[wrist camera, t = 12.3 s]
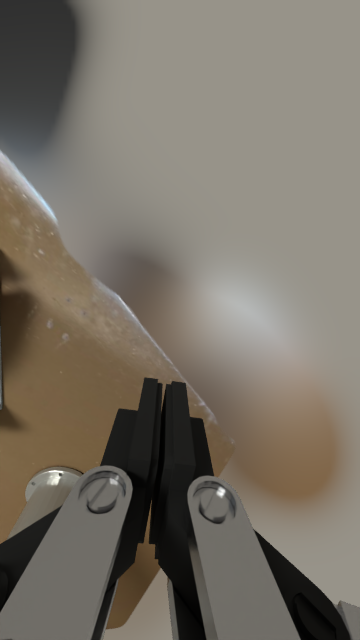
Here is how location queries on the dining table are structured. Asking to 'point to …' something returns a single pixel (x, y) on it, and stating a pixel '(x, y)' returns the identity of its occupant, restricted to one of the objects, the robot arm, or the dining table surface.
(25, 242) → the dining table surface
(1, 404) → the tray
